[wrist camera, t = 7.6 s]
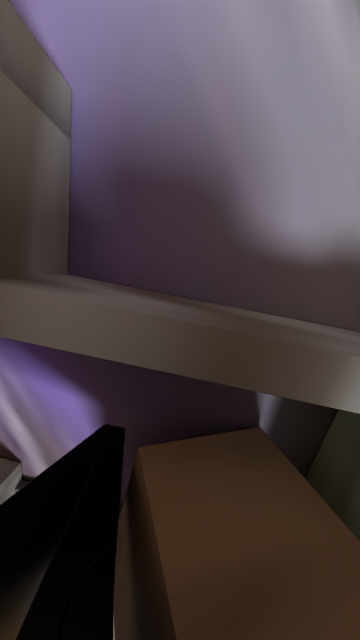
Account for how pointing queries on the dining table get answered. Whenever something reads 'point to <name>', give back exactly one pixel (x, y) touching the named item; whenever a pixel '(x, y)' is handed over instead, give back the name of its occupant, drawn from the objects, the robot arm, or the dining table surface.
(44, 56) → the trap lane
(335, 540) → the block
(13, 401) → the dining table surface
